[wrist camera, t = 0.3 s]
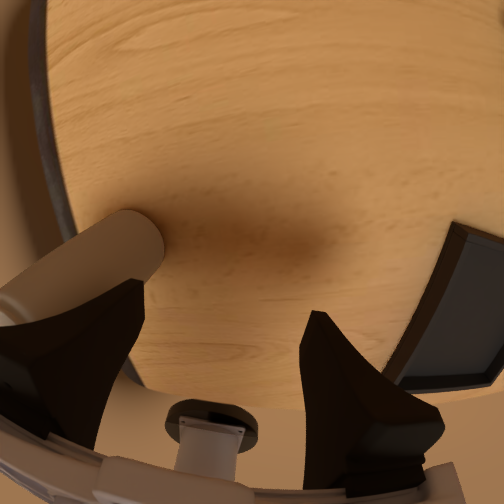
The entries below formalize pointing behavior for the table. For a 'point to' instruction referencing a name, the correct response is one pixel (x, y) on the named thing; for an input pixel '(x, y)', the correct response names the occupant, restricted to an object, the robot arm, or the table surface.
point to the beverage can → (84, 268)
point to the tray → (456, 320)
